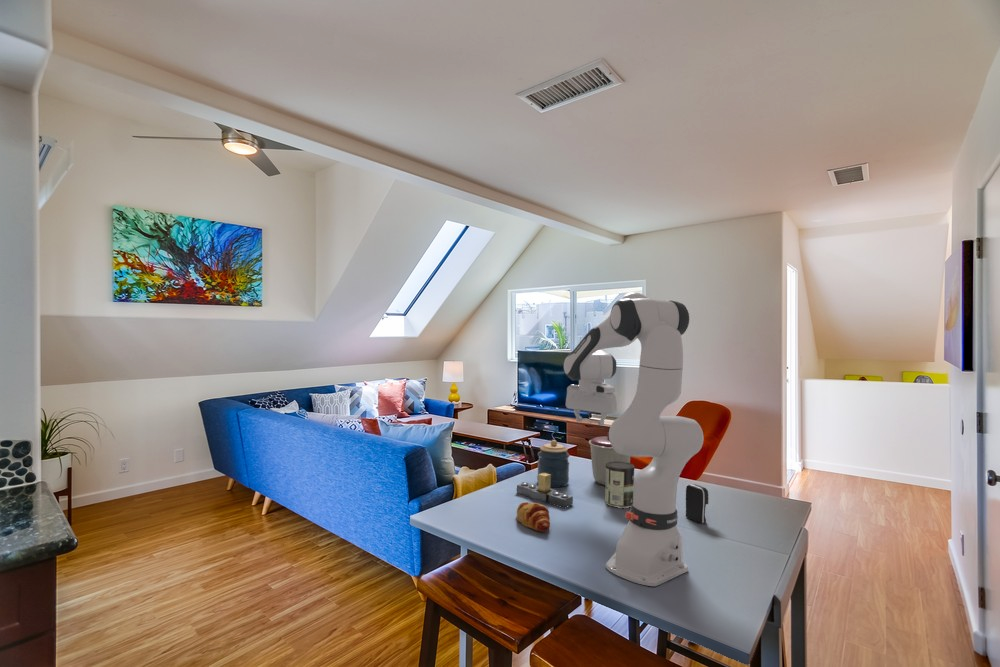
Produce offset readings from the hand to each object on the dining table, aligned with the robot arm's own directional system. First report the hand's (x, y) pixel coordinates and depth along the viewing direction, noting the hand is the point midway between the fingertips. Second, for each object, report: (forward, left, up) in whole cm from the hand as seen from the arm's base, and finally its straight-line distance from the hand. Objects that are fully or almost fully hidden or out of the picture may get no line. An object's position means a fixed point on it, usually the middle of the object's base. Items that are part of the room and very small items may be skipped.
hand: (589, 423), depth 179 cm
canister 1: (+5, +20, -28) cm, 35 cm away
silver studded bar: (-13, +11, -28) cm, 33 cm away
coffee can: (+3, -11, -28) cm, 30 cm away
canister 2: (+23, +4, -28) cm, 36 cm away
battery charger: (+8, -37, -28) cm, 47 cm away
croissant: (-33, -1, -28) cm, 44 cm away
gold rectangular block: (-13, +11, -28) cm, 33 cm away
